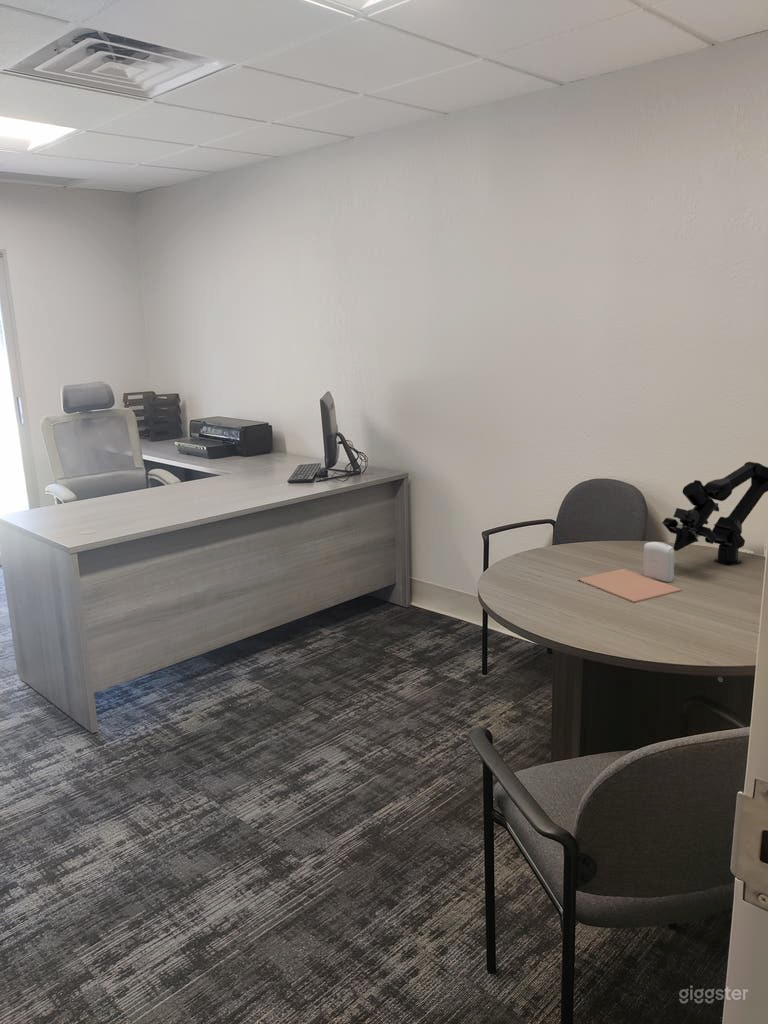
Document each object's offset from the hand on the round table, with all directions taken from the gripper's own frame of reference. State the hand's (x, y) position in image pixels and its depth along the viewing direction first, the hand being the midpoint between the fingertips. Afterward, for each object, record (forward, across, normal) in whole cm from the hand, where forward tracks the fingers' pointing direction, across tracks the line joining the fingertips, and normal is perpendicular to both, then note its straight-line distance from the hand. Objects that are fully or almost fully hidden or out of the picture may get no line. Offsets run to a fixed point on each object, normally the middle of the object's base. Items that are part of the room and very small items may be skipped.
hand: (674, 550), depth 257 cm
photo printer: (+11, 0, +1) cm, 11 cm away
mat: (+20, 0, -8) cm, 22 cm away
